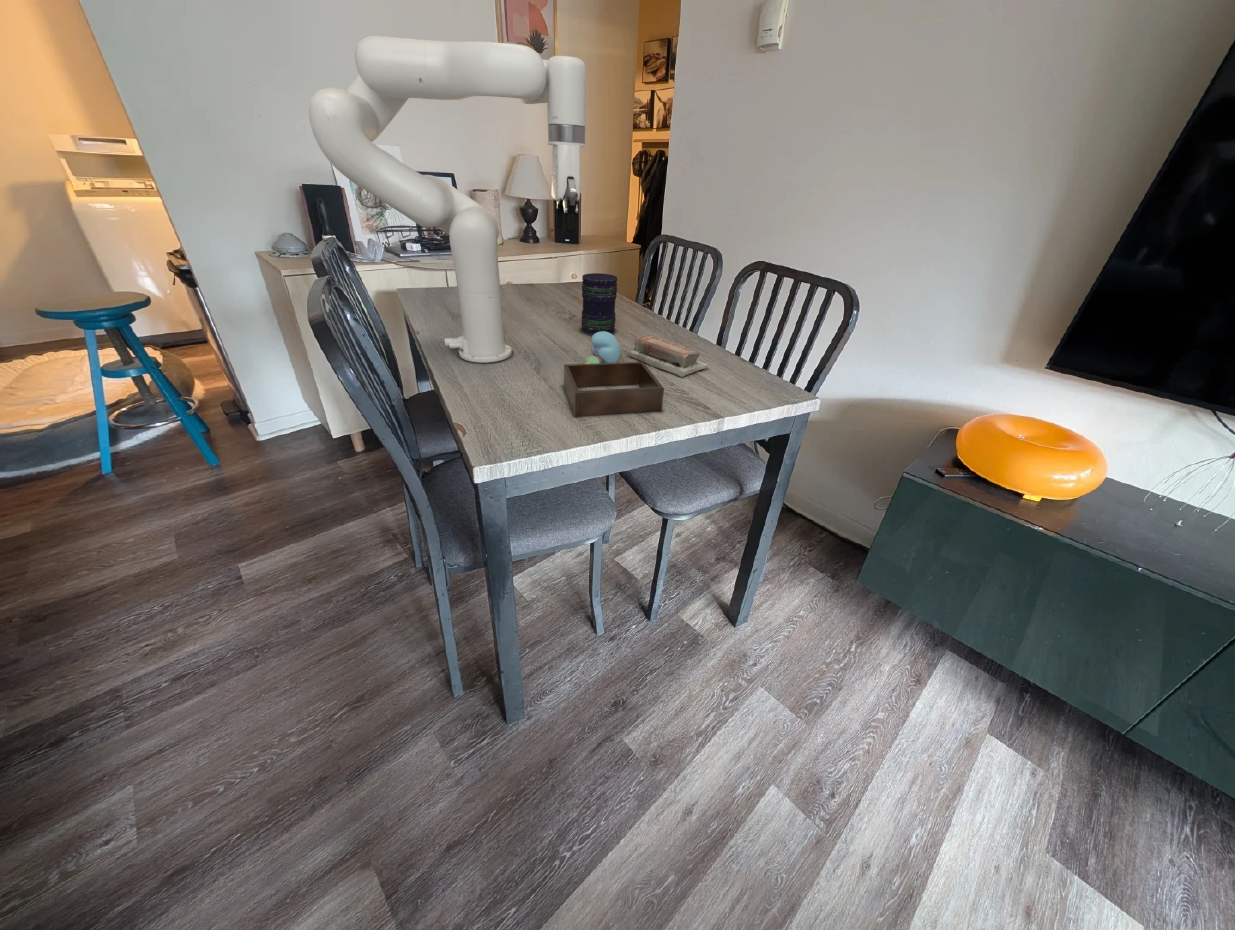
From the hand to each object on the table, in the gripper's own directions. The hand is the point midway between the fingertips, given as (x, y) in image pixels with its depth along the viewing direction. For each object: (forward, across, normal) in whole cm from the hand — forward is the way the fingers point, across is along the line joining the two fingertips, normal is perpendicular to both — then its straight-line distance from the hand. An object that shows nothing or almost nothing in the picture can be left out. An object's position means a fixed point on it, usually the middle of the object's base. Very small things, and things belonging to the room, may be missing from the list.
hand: (566, 231), depth 104 cm
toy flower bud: (+28, +11, +5) cm, 31 cm away
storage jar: (+28, -19, +12) cm, 36 cm away
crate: (+28, +27, +5) cm, 39 cm away
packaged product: (+28, +8, +24) cm, 38 cm away
